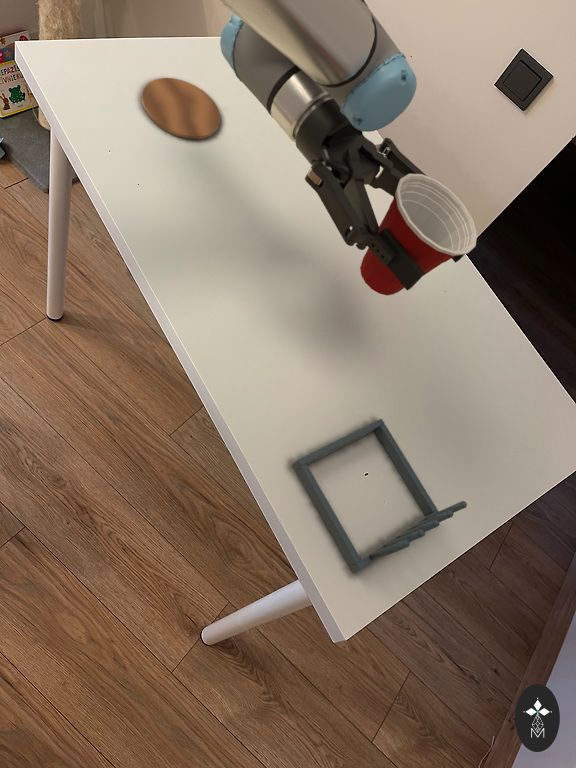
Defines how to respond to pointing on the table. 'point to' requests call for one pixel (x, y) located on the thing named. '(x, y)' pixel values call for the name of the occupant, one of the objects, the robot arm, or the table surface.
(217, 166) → the table surface
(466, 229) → the plastic cup
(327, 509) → the grey square frame
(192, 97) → the wooden coaster
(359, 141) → the robot arm
